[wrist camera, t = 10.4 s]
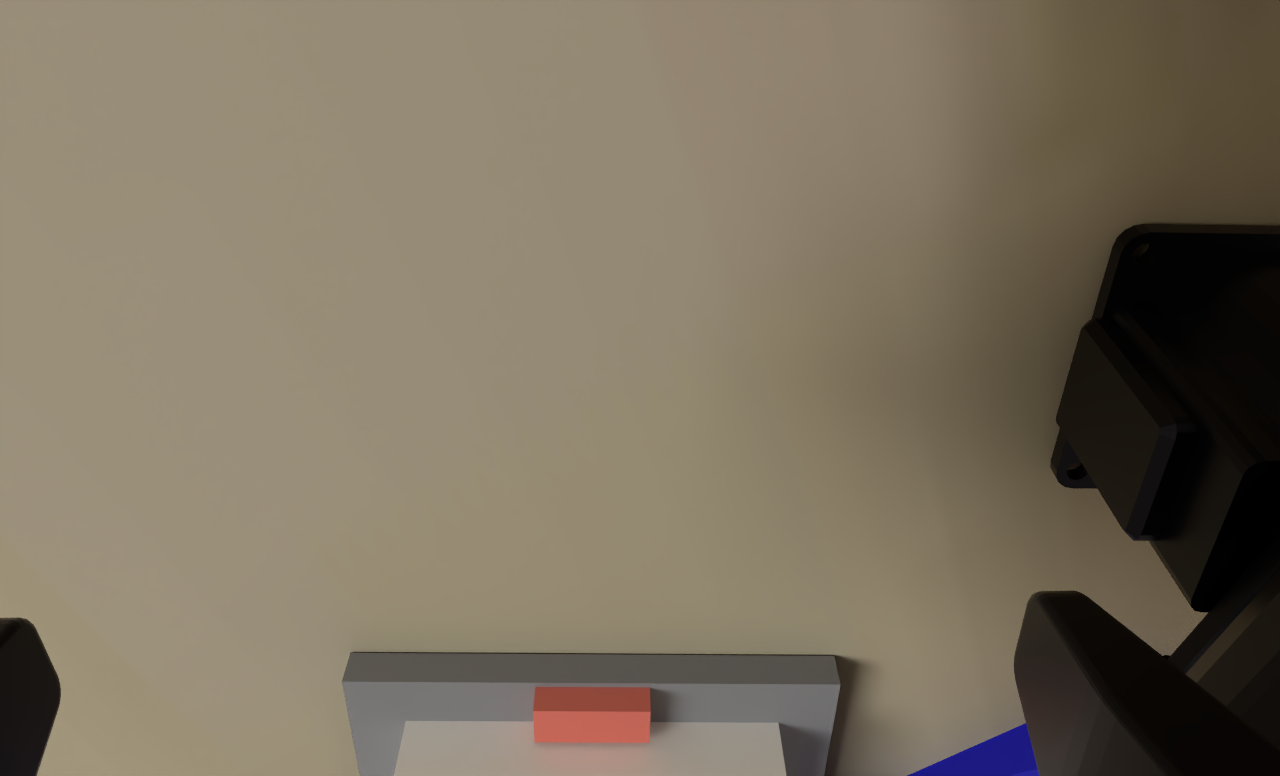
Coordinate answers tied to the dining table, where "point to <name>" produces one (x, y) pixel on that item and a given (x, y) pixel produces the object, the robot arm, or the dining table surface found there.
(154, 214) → the dining table surface
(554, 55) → the dining table surface
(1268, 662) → the robot arm
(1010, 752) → the cable clip
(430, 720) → the socket plate
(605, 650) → the dining table surface
